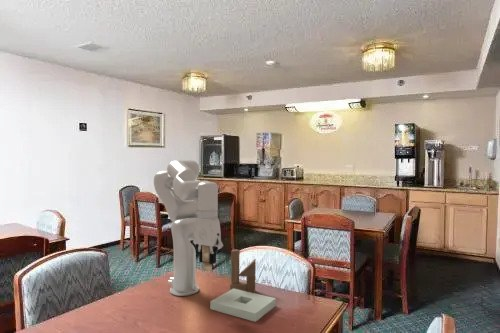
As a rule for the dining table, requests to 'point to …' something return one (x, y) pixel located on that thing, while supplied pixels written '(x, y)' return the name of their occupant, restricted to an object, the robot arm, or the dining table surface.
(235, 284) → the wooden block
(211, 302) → the board
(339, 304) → the dining table surface
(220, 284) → the dining table surface
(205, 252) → the peg
